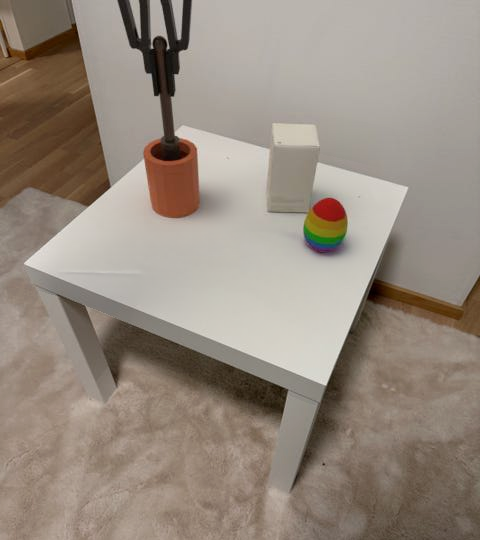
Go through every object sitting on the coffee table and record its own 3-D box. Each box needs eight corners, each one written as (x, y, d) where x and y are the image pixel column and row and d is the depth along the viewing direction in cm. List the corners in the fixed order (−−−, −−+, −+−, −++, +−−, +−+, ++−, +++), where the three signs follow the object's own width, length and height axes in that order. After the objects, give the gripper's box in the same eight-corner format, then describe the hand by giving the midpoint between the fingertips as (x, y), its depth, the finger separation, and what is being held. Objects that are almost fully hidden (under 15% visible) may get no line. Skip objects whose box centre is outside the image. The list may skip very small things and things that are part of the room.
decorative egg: (294, 247, 86) (300, 203, 78) (311, 225, 91) (319, 182, 83) (332, 262, 83) (343, 219, 76) (349, 239, 88) (360, 196, 80)
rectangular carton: (309, 213, 93) (321, 146, 82) (266, 212, 93) (272, 145, 82) (306, 189, 99) (316, 123, 87) (266, 187, 99) (271, 121, 87)
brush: (162, 172, 87) (146, 39, 69) (164, 162, 89) (149, 31, 72) (181, 173, 87) (169, 40, 69) (182, 163, 89) (171, 32, 72)
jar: (148, 217, 91) (139, 163, 82) (154, 188, 98) (147, 136, 88) (197, 218, 91) (194, 165, 82) (201, 190, 98) (198, 138, 89)
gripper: (204, -92, 62) (209, 85, 80) (96, -96, 61) (125, 82, 79) (200, -83, 57) (206, 103, 75) (83, -87, 57) (117, 101, 75)
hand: (164, 92), depth 77 cm, fingers closed on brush, 2 cm apart
